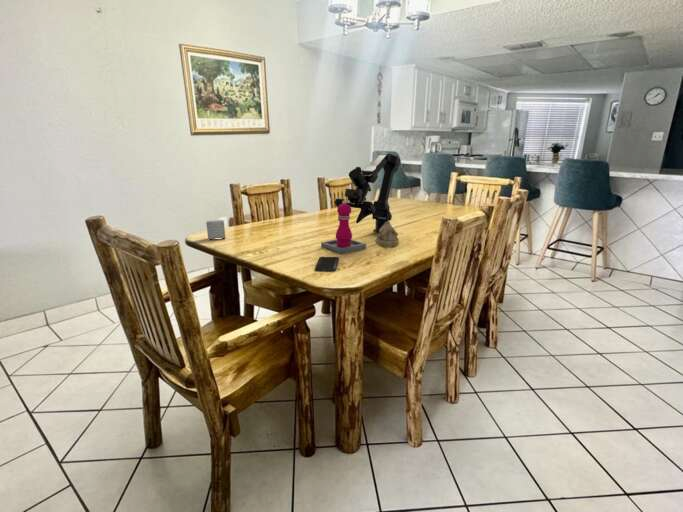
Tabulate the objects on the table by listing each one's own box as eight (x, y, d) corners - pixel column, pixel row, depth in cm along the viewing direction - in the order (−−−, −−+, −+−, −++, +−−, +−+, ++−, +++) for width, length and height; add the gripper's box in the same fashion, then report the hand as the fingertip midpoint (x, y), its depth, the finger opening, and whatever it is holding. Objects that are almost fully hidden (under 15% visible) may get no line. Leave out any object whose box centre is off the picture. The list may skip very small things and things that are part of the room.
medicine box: (225, 237, 177) (223, 219, 174) (225, 239, 173) (223, 221, 170) (208, 238, 175) (206, 220, 172) (208, 240, 171) (206, 222, 168)
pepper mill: (353, 247, 156) (354, 201, 150) (337, 248, 155) (337, 201, 149) (350, 243, 163) (351, 198, 157) (334, 243, 162) (334, 199, 156)
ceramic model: (373, 239, 174) (374, 218, 171) (396, 238, 174) (397, 218, 171) (378, 247, 160) (379, 225, 157) (403, 246, 161) (404, 224, 158)
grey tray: (321, 247, 160) (321, 242, 159) (345, 241, 168) (345, 237, 168) (340, 254, 149) (340, 249, 149) (365, 248, 158) (366, 243, 157)
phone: (338, 257, 144) (335, 269, 129) (338, 259, 144) (335, 272, 130) (319, 256, 144) (314, 269, 130) (319, 259, 145) (314, 272, 130)
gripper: (336, 180, 162) (322, 208, 157) (373, 182, 152) (359, 213, 147) (345, 195, 171) (332, 222, 165) (381, 198, 161) (368, 228, 156)
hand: (347, 221), depth 158 cm, fingers open, 9 cm apart
